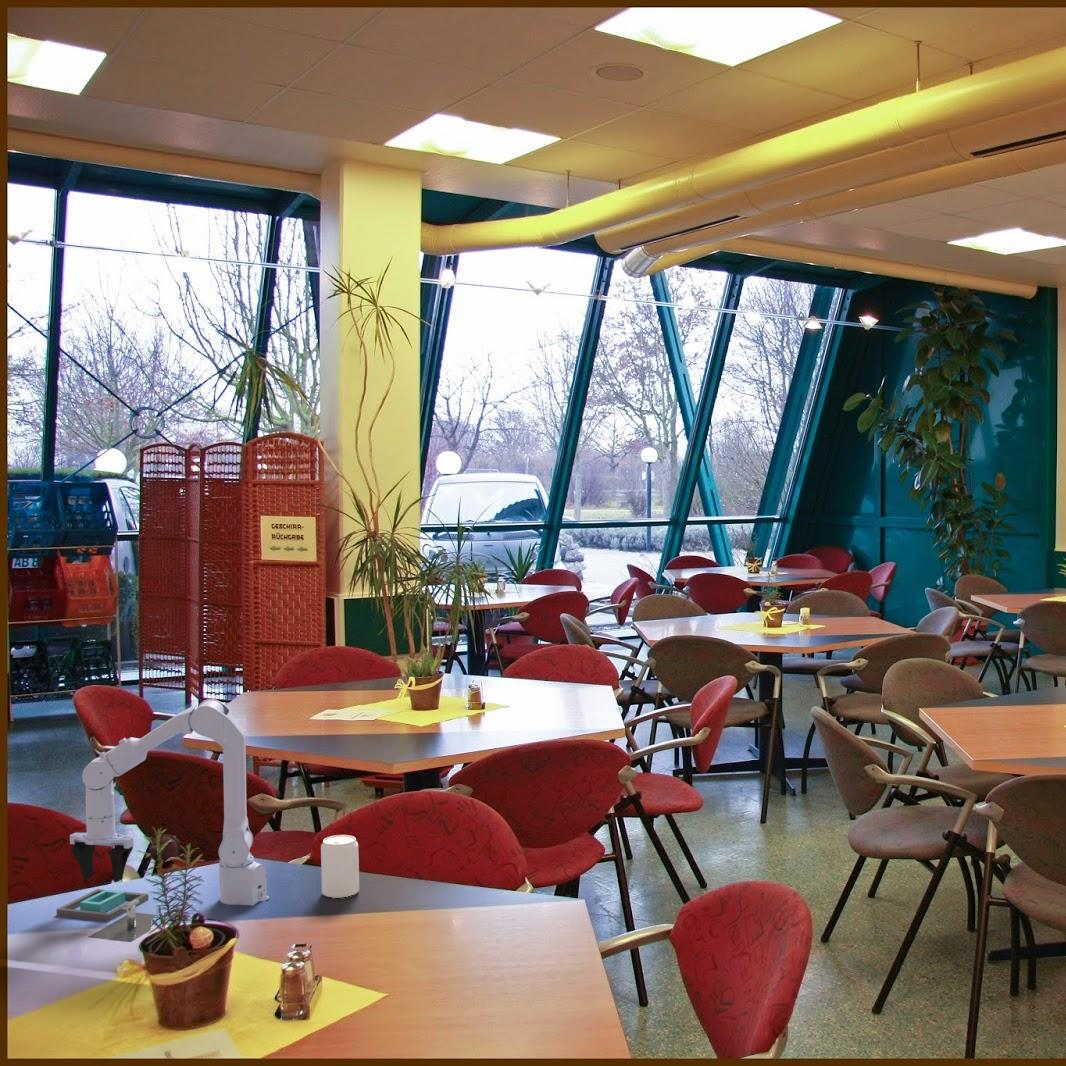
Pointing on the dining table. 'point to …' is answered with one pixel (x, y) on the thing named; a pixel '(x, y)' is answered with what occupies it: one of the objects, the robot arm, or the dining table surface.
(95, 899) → the teal open-top box
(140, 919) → the stand
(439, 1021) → the dining table surface
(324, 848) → the beverage can
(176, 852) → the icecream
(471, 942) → the dining table surface
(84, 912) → the tray
